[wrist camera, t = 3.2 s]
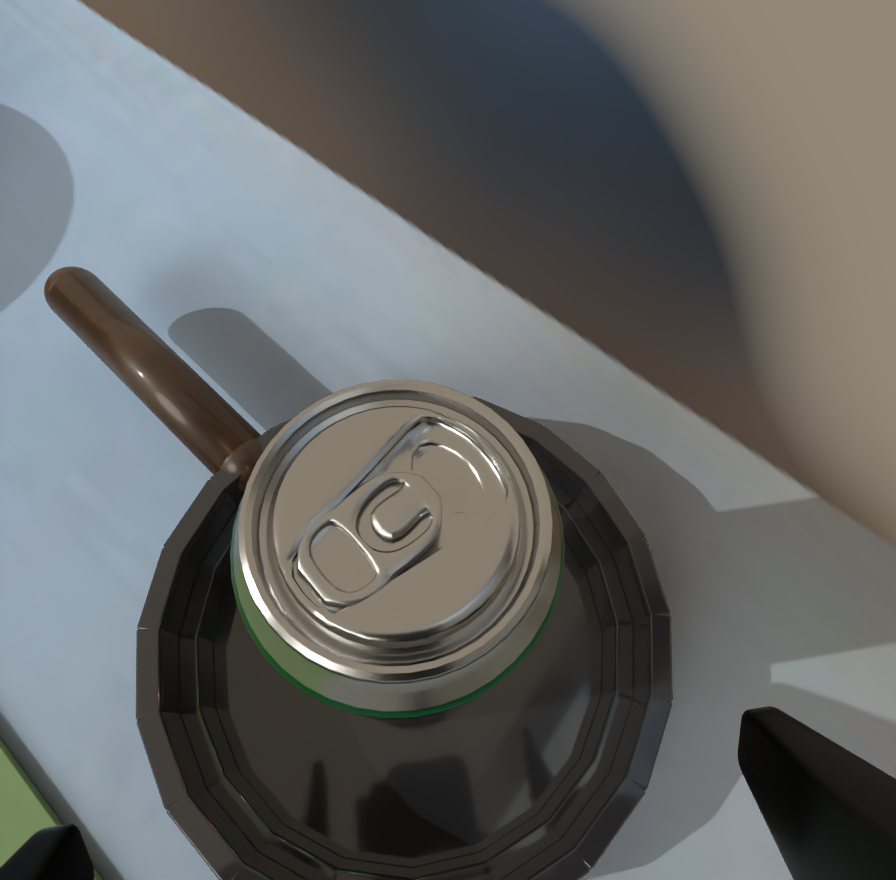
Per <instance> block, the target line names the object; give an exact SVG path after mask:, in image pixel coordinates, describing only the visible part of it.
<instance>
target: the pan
mask: <svg viewBox="0 0 896 880" xmlns="http://www.w3.org/2000/svg"><path fill="white" fill-rule="evenodd" d="M470 397H471V396H470ZM473 398H474V399H476V400H477V401H479V402H481V403H482V404H484V405H486V406H487V407H489V408H491V409H492V410H493V411H494V412H495V413H497V414H498V415H499V416H500V417H501V418H503V419H504V420H505V421H506V422H507V423H509V425H510V426H511V427H512V428H513V429H514V430H515V431H516V432H517V434H518V435H519V436H520V437H521V438H522V439H523V441H524V442H525V444H526V445H527V447H528V448H529V450H530V451H531V453H532V454H533V456H534V458H535V459H536V461H537V463H538V465H539V466H540V468H541V469H542V471H543V472H544V474H545V475H546V477H547V480H548V482H549V484H550V486H551V489H552V491H553V493H554V495H555V497H556V501H557V505H558V508H559V512H560V516H561V519H562V525H563V534H564V543H565V554H564V572H563V577H562V582H561V586H560V591H559V596H558V599H557V602H556V604H555V607H554V609H553V612H552V614H551V617H550V620H549V622H548V624H547V626H546V627H545V629H544V631H543V632H542V634H541V636H540V637H539V639H538V641H537V642H536V644H535V646H534V647H533V648H532V649H531V651H530V652H529V653H528V654H527V655H526V657H525V658H524V659H523V660H522V661H521V663H520V664H519V665H518V666H517V667H516V668H515V669H514V670H513V671H512V672H510V673H509V674H508V675H507V676H506V677H505V678H503V679H502V680H501V681H500V682H499V683H497V684H496V685H495V686H494V687H492V688H491V689H489V690H488V691H486V692H485V693H483V694H482V695H480V696H479V697H478V698H476V699H475V700H473V701H472V702H470V703H469V704H467V705H466V706H464V707H463V708H461V709H460V710H458V711H457V712H455V713H454V714H452V715H450V716H448V717H447V718H445V719H443V720H440V721H437V722H435V723H432V724H428V725H423V726H418V727H400V726H393V725H388V724H385V723H382V722H379V721H376V720H373V719H370V718H366V717H363V716H360V715H357V714H354V713H351V712H348V711H345V710H342V709H339V708H336V707H333V706H330V705H327V704H325V703H323V702H322V701H320V700H318V699H316V698H314V697H312V696H310V695H308V694H306V693H304V692H303V691H301V690H300V689H299V688H298V687H296V686H295V685H294V684H292V683H291V682H290V681H289V680H287V679H286V678H285V677H283V676H282V675H281V674H280V673H279V672H278V671H277V670H276V669H275V667H274V666H273V665H272V664H271V663H270V662H269V661H268V660H267V659H266V658H265V656H264V655H263V654H262V653H261V651H260V650H259V648H258V646H257V645H256V643H255V642H254V640H253V638H252V637H251V635H250V634H249V632H248V630H247V628H246V626H245V623H244V621H243V618H242V616H241V613H240V611H239V609H238V606H237V602H236V598H235V593H234V589H233V584H232V579H231V560H230V550H231V542H232V533H233V526H234V523H235V519H236V515H237V512H238V508H239V505H240V502H241V500H242V497H243V495H244V492H245V491H242V490H240V489H239V487H238V484H239V481H240V478H241V477H242V474H230V473H228V472H225V471H224V470H222V469H221V470H219V471H218V472H217V473H216V474H215V475H213V476H212V477H211V478H210V480H208V481H207V483H206V484H205V486H204V487H203V488H202V490H201V491H200V493H199V494H198V496H197V497H196V499H195V500H194V502H193V503H192V505H191V506H190V508H189V509H188V511H187V512H186V513H185V515H184V516H183V518H182V519H181V521H180V522H179V524H178V525H177V527H176V528H175V530H174V531H173V533H172V534H171V536H170V537H169V538H168V540H167V541H166V543H165V544H164V547H165V548H163V549H162V552H161V555H160V558H159V561H158V564H157V567H156V570H155V574H154V577H153V580H152V583H151V586H150V589H149V592H148V595H147V599H146V602H145V605H144V608H143V611H142V614H141V617H140V620H139V623H138V629H139V630H137V647H136V719H137V720H138V721H137V726H138V729H139V732H140V735H141V738H142V741H143V744H144V747H145V750H146V753H147V756H148V759H149V762H150V765H151V768H152V772H153V775H154V778H155V781H156V784H157V787H158V790H159V793H160V796H161V799H162V802H163V805H164V808H165V809H166V810H167V809H168V810H167V814H168V815H169V816H170V818H171V819H172V820H173V821H174V823H175V824H176V825H177V827H178V828H179V829H180V830H181V832H182V833H183V834H184V835H185V837H186V838H187V839H188V841H189V842H190V843H191V844H192V846H193V847H194V848H195V849H196V851H197V852H198V853H199V855H200V856H201V857H202V858H203V860H204V861H205V862H206V864H207V865H208V866H209V867H210V869H211V870H212V871H213V872H214V874H215V875H216V876H217V878H218V879H219V880H579V879H581V878H582V877H583V876H585V875H586V874H588V873H589V871H590V869H593V867H594V866H595V865H596V863H597V862H598V860H599V859H600V857H601V856H602V855H603V853H604V852H605V850H606V849H607V847H608V846H609V845H610V843H611V842H612V840H613V839H614V837H615V836H616V835H617V833H618V832H619V830H620V829H621V827H622V826H623V825H624V823H625V822H626V820H627V819H628V817H629V816H630V814H631V813H632V812H633V810H634V809H635V807H636V806H637V804H638V803H639V802H640V800H641V799H642V797H643V796H644V794H645V790H646V789H647V788H648V785H649V782H650V778H651V775H652V771H653V768H654V764H655V761H656V758H657V754H658V751H659V747H660V744H661V741H662V737H663V734H664V730H665V727H666V724H667V720H668V717H669V713H670V710H671V706H672V702H671V701H672V700H673V692H672V646H671V616H670V615H669V614H670V611H669V608H668V605H667V602H666V598H665V595H664V592H663V589H662V586H661V583H660V580H659V577H658V574H657V571H656V568H655V565H654V562H653V559H652V556H651V553H650V550H649V547H648V544H647V541H646V538H645V537H644V536H645V535H644V533H643V532H642V531H641V529H640V528H639V526H638V525H637V523H636V522H635V520H634V519H633V518H632V516H631V515H630V513H629V512H628V510H627V509H626V507H625V506H624V505H623V503H622V502H621V500H620V499H619V497H618V496H617V494H616V493H615V491H614V490H613V489H612V487H611V486H610V484H609V483H608V481H607V480H606V478H605V477H604V476H603V474H602V473H600V471H599V470H598V469H596V468H595V467H594V466H593V465H591V464H590V463H589V462H588V461H587V460H585V459H584V458H583V457H582V456H580V455H579V454H578V453H577V452H575V451H574V450H573V449H572V448H571V447H569V446H568V445H567V444H566V443H564V442H563V441H562V440H561V439H560V438H558V437H557V436H556V435H555V434H553V433H552V432H551V431H550V430H548V429H547V428H546V427H543V426H542V425H541V424H538V423H536V422H534V421H531V420H529V419H527V418H524V417H522V416H520V415H517V414H515V413H513V412H510V411H508V410H506V409H503V408H501V407H499V406H496V405H494V404H492V403H489V402H487V401H485V400H482V399H480V398H478V399H477V397H473ZM291 420H292V419H290V420H288V421H286V422H284V423H282V424H279V425H277V426H275V427H273V428H270V429H269V431H266V432H265V433H264V434H262V435H261V436H260V437H259V438H258V441H259V442H260V444H261V447H262V453H263V452H264V450H265V449H266V447H267V446H268V444H269V443H270V442H271V440H272V439H273V438H274V437H275V436H276V435H277V434H278V433H279V431H280V430H281V429H282V428H283V427H284V426H285V425H286V424H287V423H288V422H290V421H291ZM261 455H262V454H261Z"/></svg>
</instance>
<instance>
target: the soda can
mask: <svg viewBox="0 0 896 880" xmlns="http://www.w3.org/2000/svg"><path fill="white" fill-rule="evenodd" d="M564 554H565V543H564V534H563V525H562V519H561V516H560V512H559V508H558V505H557V501H556V497H555V495H554V493H553V491H552V489H551V486H550V484H549V482H548V480H547V477H546V475H545V474H544V472H543V471H542V469H541V468H540V466H539V465H538V463H537V461H536V459H535V458H534V456H533V454H532V453H531V451H530V450H529V448H528V447H527V445H526V444H525V442H524V441H523V439H522V438H521V437H520V436H519V435H518V434H517V432H516V431H515V430H514V429H513V428H512V427H511V426H510V425H509V423H507V422H506V421H505V420H504V419H503V418H501V417H500V416H499V415H498V414H497V413H495V412H494V411H493V410H492V409H491V408H489V407H487V406H486V405H484V404H482V403H481V402H479V401H477V400H476V399H474V398H473V397H470V396H468V395H466V394H463V393H461V392H459V391H456V390H454V389H452V388H448V387H444V386H441V385H437V384H433V383H429V382H421V381H413V380H383V381H377V382H370V383H363V384H360V385H357V386H353V387H350V388H346V389H343V390H340V391H338V392H336V393H334V394H331V395H329V396H327V397H325V398H322V399H321V400H319V401H317V402H316V403H314V404H312V405H311V406H309V407H308V408H306V409H304V410H303V411H302V412H300V413H299V414H298V415H297V416H296V417H294V418H293V419H292V420H291V421H290V422H288V423H287V424H286V425H285V426H284V427H283V428H282V429H281V430H280V431H279V433H278V434H277V435H276V436H275V437H274V438H273V439H272V440H271V442H270V443H269V444H268V446H267V447H266V449H265V450H264V452H263V453H262V455H261V456H260V458H259V459H258V461H257V463H256V465H255V467H254V469H253V471H252V474H251V476H250V478H249V480H248V482H247V485H246V489H245V492H244V495H243V497H242V500H241V502H240V505H239V508H238V512H237V515H236V519H235V523H234V526H233V533H232V542H231V550H230V560H231V579H232V584H233V589H234V593H235V598H236V602H237V606H238V609H239V611H240V613H241V616H242V618H243V621H244V623H245V626H246V628H247V630H248V632H249V634H250V635H251V637H252V638H253V640H254V642H255V643H256V645H257V646H258V648H259V650H260V651H261V653H262V654H263V655H264V656H265V658H266V659H267V660H268V661H269V662H270V663H271V664H272V665H273V666H274V667H275V669H276V670H277V671H278V672H279V673H280V674H281V675H282V676H283V677H285V678H286V679H287V680H289V681H290V682H291V683H292V684H294V685H295V686H296V687H298V688H299V689H300V690H301V691H303V692H304V693H306V694H308V695H310V696H312V697H314V698H316V699H318V700H320V701H322V702H323V703H325V704H327V705H330V706H333V707H336V708H339V709H342V710H345V711H348V712H351V713H354V714H357V715H360V716H363V717H366V718H370V719H373V720H376V721H379V722H382V723H385V724H388V725H393V726H400V727H418V726H423V725H428V724H432V723H435V722H437V721H440V720H443V719H445V718H447V717H448V716H450V715H452V714H454V713H455V712H457V711H458V710H460V709H461V708H463V707H464V706H466V705H467V704H469V703H470V702H472V701H473V700H475V699H476V698H478V697H479V696H480V695H482V694H483V693H485V692H486V691H488V690H489V689H491V688H492V687H494V686H495V685H496V684H497V683H499V682H500V681H501V680H502V679H503V678H505V677H506V676H507V675H508V674H509V673H510V672H512V671H513V670H514V669H515V668H516V667H517V666H518V665H519V664H520V663H521V661H522V660H523V659H524V658H525V657H526V655H527V654H528V653H529V652H530V651H531V649H532V648H533V647H534V646H535V644H536V642H537V641H538V639H539V637H540V636H541V634H542V632H543V631H544V629H545V627H546V626H547V624H548V622H549V620H550V617H551V614H552V612H553V609H554V607H555V604H556V602H557V599H558V596H559V591H560V586H561V582H562V577H563V572H564Z"/></svg>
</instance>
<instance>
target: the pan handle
mask: <svg viewBox="0 0 896 880" xmlns="http://www.w3.org/2000/svg"><path fill="white" fill-rule="evenodd" d="M44 295H45V299H46V301H47V303H48V305H49V306H50V308H51V309H52V310H53V311H54V312H55V313H56V314H57V315H58V316H59V317H60V318H61V319H62V320H63V321H64V323H65V324H66V325H67V326H68V327H69V328H70V329H71V330H72V331H73V332H74V333H75V334H76V335H77V336H78V337H79V338H80V339H81V340H82V341H83V342H84V343H85V344H86V345H87V346H88V347H89V348H90V349H91V350H92V351H93V352H94V353H95V354H96V355H97V356H98V357H99V358H100V359H101V360H102V361H103V362H104V363H105V364H106V365H107V366H108V367H109V368H110V369H111V370H112V371H113V372H114V373H115V374H116V376H117V377H118V378H119V379H120V380H121V381H122V382H123V383H124V384H125V385H126V386H127V387H128V388H129V389H130V390H131V391H132V392H133V393H134V394H135V395H136V396H137V397H138V398H139V399H140V400H141V401H142V402H143V403H144V404H145V405H146V406H147V407H148V408H149V409H150V410H151V411H152V412H153V413H154V414H155V415H156V416H157V417H158V418H159V419H160V420H161V421H162V422H163V423H164V424H165V425H166V426H167V427H168V429H169V430H170V431H171V432H172V433H173V434H174V435H175V436H176V437H177V438H178V439H179V440H180V441H181V442H182V443H183V444H184V445H185V446H186V447H187V448H188V449H189V450H190V451H191V452H192V453H193V454H194V455H195V456H196V457H197V458H198V459H199V460H200V461H201V462H202V463H203V464H204V465H205V466H206V467H207V468H208V469H209V470H210V471H211V472H212V473H213V474H214V475H215V474H216V473H217V472H218V471H219V470H221V469H222V470H224V471H225V472H228V473H230V474H242V477H241V478H240V481H239V484H238V487H239V489H240V490H242V491H245V489H246V485H247V482H248V480H249V478H250V476H251V474H252V471H253V469H254V467H255V465H256V463H257V461H258V459H259V458H260V456H261V454H262V447H261V444H260V442H259V441H258V438H259V437H260V436H261V435H260V434H259V433H258V432H257V431H256V430H255V429H254V428H253V427H252V426H251V425H250V424H249V423H248V422H247V421H246V420H245V419H244V418H243V417H242V416H241V415H239V414H238V413H237V412H236V411H235V410H234V409H233V408H232V407H231V406H230V405H229V404H228V403H227V402H226V401H225V400H224V399H223V398H222V397H221V396H220V395H219V394H218V393H217V392H216V391H215V390H214V389H213V388H211V387H210V386H209V385H208V384H207V383H206V382H205V381H204V380H203V379H202V378H201V377H200V376H199V375H198V374H197V373H196V372H195V371H194V370H193V369H192V368H191V367H190V366H189V365H188V364H187V363H186V362H185V361H183V360H182V359H181V358H180V357H179V356H178V355H177V354H176V353H175V352H174V351H173V350H172V349H171V348H170V347H169V346H168V345H167V344H166V343H165V342H164V341H163V340H162V339H161V338H160V337H159V336H158V335H157V334H156V333H154V332H153V331H152V330H151V329H150V328H149V327H148V326H147V325H146V324H145V323H144V322H143V321H142V320H141V319H140V318H139V317H138V316H137V315H136V314H135V313H134V312H133V311H132V310H131V309H130V308H129V307H128V306H126V305H125V304H124V303H123V302H122V301H121V300H120V299H119V298H118V297H117V296H116V295H115V294H114V293H113V292H112V291H111V290H110V289H109V288H108V287H107V286H106V285H105V284H104V283H103V282H102V281H101V280H100V279H98V278H97V277H96V276H95V275H94V274H93V273H91V272H90V271H88V270H85V269H83V268H79V267H64V268H61V269H58V270H56V271H55V272H53V273H52V274H51V275H50V276H49V277H48V279H47V281H46V283H45V287H44Z"/></svg>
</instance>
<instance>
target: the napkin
mask: <svg viewBox="0 0 896 880" xmlns="http://www.w3.org/2000/svg"><path fill="white" fill-rule="evenodd" d="M58 825H63V824H62V823H61V822H60V820H59V819H58V817H57V816H56V815H55V813H54V812H53V811H52V809H51V808H50V806H49V805H48V804H47V802H46V801H45V800H44V798H43V797H42V795H41V794H40V793H39V791H38V790H37V788H36V787H35V786H34V784H33V783H32V782H31V780H30V779H29V777H28V776H27V775H26V773H25V772H24V771H23V769H22V768H21V766H20V765H19V764H18V762H17V761H16V760H15V758H14V757H13V755H12V754H11V753H10V751H9V750H8V748H7V747H6V746H5V744H4V743H3V742H2V740H1V739H0V867H1V866H2V865H3V864H4V863H5V862H6V861H7V860H8V859H9V858H10V857H11V856H12V855H13V854H14V853H15V852H16V851H17V850H18V849H19V848H20V847H21V846H22V845H23V844H24V843H25V842H26V841H27V840H28V839H29V838H30V837H31V836H32V835H33V834H34V833H36V832H37V831H39V830H40V829H43V828H47V827H52V826H58ZM93 868H94V867H93ZM94 880H103V879H102V878H101V877H100V875H99V874H98V873H97V871H96V870H95V868H94Z"/></svg>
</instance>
